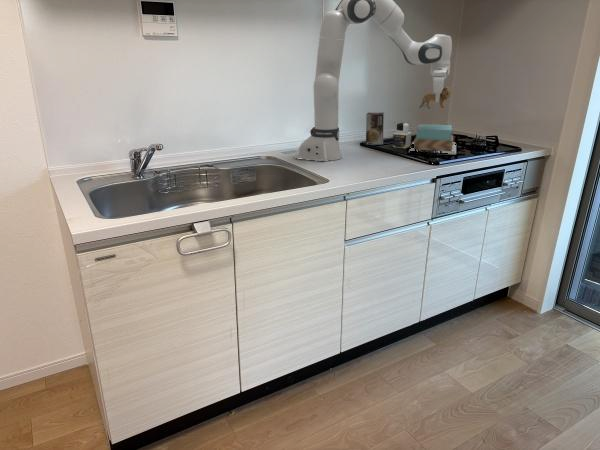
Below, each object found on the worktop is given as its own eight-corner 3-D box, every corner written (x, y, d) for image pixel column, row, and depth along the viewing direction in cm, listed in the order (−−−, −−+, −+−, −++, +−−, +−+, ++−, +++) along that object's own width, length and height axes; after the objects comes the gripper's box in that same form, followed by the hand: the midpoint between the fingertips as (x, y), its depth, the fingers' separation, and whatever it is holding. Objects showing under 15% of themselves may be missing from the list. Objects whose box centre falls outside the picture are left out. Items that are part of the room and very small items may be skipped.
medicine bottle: (392, 147, 231) (393, 123, 226) (397, 144, 236) (399, 121, 232) (405, 148, 227) (406, 124, 222) (410, 145, 232) (412, 122, 228)
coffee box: (383, 142, 242) (384, 112, 236) (382, 144, 236) (383, 114, 230) (366, 142, 244) (367, 112, 238) (365, 144, 238) (366, 113, 232)
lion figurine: (449, 104, 217) (450, 85, 213) (451, 107, 213) (451, 88, 208) (418, 107, 220) (418, 89, 216) (419, 110, 216) (419, 91, 211)
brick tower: (408, 152, 219) (410, 130, 214) (412, 143, 238) (414, 123, 234) (455, 154, 212) (458, 131, 208) (456, 145, 231) (458, 124, 227)
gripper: (434, 69, 219) (432, 98, 225) (431, 72, 202) (429, 103, 207) (447, 69, 217) (445, 98, 223) (446, 72, 200) (443, 103, 205)
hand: (437, 101), depth 215 cm, fingers closed on lion figurine, 4 cm apart
